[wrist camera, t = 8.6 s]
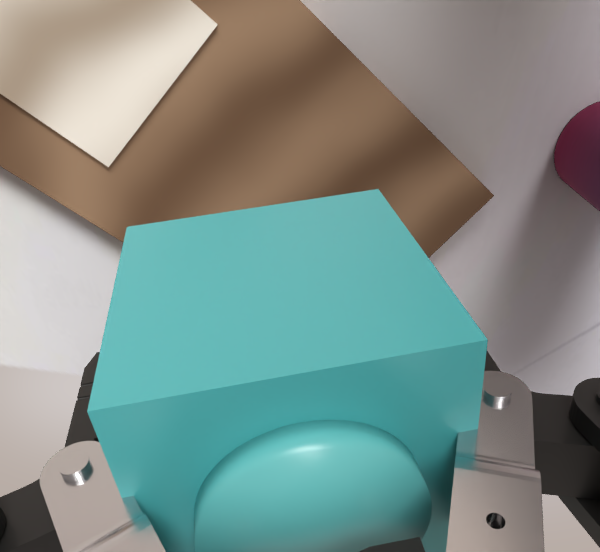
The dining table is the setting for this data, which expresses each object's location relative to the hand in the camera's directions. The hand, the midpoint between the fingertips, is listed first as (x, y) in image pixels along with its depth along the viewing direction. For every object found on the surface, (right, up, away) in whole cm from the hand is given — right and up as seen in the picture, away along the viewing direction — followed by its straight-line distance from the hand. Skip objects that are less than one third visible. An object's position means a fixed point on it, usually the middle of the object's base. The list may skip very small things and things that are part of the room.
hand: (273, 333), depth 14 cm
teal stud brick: (0, +1, +1) cm, 1 cm away
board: (-3, +8, +14) cm, 16 cm away
